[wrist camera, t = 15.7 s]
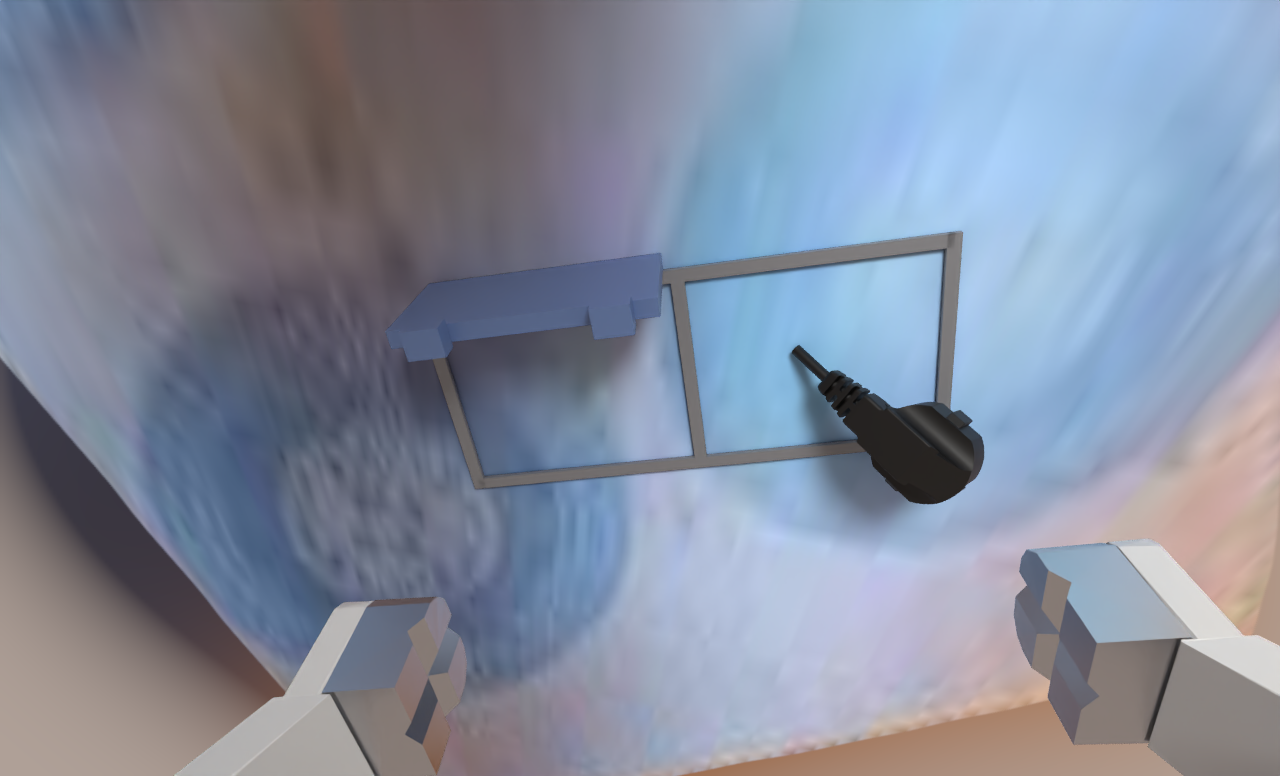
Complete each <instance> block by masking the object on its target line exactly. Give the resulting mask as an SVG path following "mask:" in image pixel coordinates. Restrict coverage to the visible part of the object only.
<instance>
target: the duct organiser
mask: <svg viewBox="0 0 1280 776" xmlns="http://www.w3.org/2000/svg"><path fill="white" fill-rule="evenodd" d="M962 239H963V232H962V231H956V232H948V233H940V234H933V235H925V236H917V237H910V238H902V239H894V240H886V241H879V242H871V243H863V244H856V245H848V246H840V247H833V248H825V249H817V250H809V251H802V252H794V253H786V254H779V255H771V256H763V257H755V258H748V259H740V260H732V261H725V262H717V263H709V264H702V265H694V266H686V267H678V268H671V269H663V265H662V258H661V253H657V254H649V255H642V256H634V257H626V258H619V259H611V260H604V261H596V262H589V263H581V264H574V265H566V266H559V267H551V268H543V269H536V270H528V271H521V272H513V273H506V274H498V275H491V276H483V277H476V278H468V279H461V280H453V281H445V282H438V283H430V284H428V285H427V286H426V287H425V289H424V290H423V291H422V292H421V293H420V294H419V295H418V296H417V297H416V298H415V300H414V301H413V302H412V303H411V304H410V305H409V306H408V307H407V308H406V309H405V310H404V312H403V313H402V314H401V315H400V316H399V317H398V318H397V319H396V320H395V321H394V323H393V324H392V325H391V326H390V327H389V328H388V329H387V330H386V331H385V333H386V335H387V338H388V341H389V344H390V346H391V349H398V348H404V351H405V354H406V357H407V360H408V362H413V361H422V360H430V359H433V362H434V365H435V368H436V371H437V374H438V377H439V380H440V383H441V386H442V389H443V393H444V396H445V399H446V402H447V405H448V408H449V411H450V414H451V417H452V420H453V423H454V426H455V429H456V432H457V435H458V438H459V441H460V444H461V447H462V450H463V453H464V456H465V459H466V462H467V465H468V468H469V471H470V474H471V477H472V480H473V484H474V487H475V489H481V488H491V487H502V486H512V485H523V484H533V483H543V482H554V481H564V480H575V479H585V478H596V477H606V476H617V475H627V474H638V473H648V472H658V471H669V470H679V469H690V468H700V467H711V466H721V465H732V464H742V463H753V462H763V461H774V460H784V459H794V458H805V457H815V456H826V455H836V454H847V453H857V452H866V451H865V450H864V449H863V448H862V447H861V446H860V445H859V444H858V443H857V442H856V440H849V441H839V442H829V443H818V444H808V445H798V446H788V447H778V448H767V449H757V450H747V451H737V452H726V453H716V454H706V446H705V438H704V430H703V422H702V414H701V407H700V399H699V391H698V383H697V375H696V367H695V359H694V352H693V344H692V336H691V328H690V320H689V312H688V304H687V297H686V289H685V282H686V281H694V280H702V279H710V278H718V277H726V276H733V275H741V274H749V273H757V272H765V271H773V270H781V269H788V268H796V267H804V266H812V265H820V264H828V263H836V262H843V261H851V260H859V259H867V258H875V257H883V256H891V255H898V254H906V253H914V252H922V251H930V250H938V249H945V258H944V274H943V291H942V307H941V323H940V340H939V356H938V372H937V389H936V402H938V403H943V404H944V405H945V406H947V407H948V408H949V409H950V403H951V390H952V376H953V362H954V349H955V335H956V321H957V308H958V294H959V280H960V267H961V253H962ZM670 283H671V289H672V296H673V303H674V311H675V318H676V325H677V332H678V340H679V347H680V354H681V361H682V369H683V376H684V383H685V391H686V398H687V405H688V412H689V420H690V427H691V434H692V441H693V449H694V456H685V457H675V458H665V459H655V460H645V461H634V462H624V463H614V464H604V465H593V466H583V467H573V468H563V469H552V470H542V471H532V472H522V473H511V474H501V475H491V476H484V473H483V470H482V467H481V464H480V461H479V458H478V454H477V451H476V448H475V445H474V442H473V439H472V436H471V432H470V429H469V426H468V423H467V420H466V417H465V414H464V410H463V407H462V404H461V401H460V398H459V395H458V392H457V388H456V385H455V382H454V379H453V376H452V373H451V370H450V366H449V363H448V360H447V356H448V354H449V353H450V351H451V350H452V348H453V344H452V342H455V341H463V340H471V339H480V338H488V337H496V336H504V335H512V334H521V333H529V332H537V331H545V330H553V329H562V328H570V327H578V326H586V325H591V327H592V332H593V337H594V340H598V339H606V338H615V337H623V336H631V335H635V330H636V321H635V319H644V318H652V317H660V314H661V296H662V285H663V284H670Z"/></svg>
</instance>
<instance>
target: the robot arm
mask: <svg viewBox="0 0 1280 776" xmlns="http://www.w3.org/2000/svg"><path fill="white" fill-rule="evenodd" d="M1019 572H1020V574H1021V576H1022V577H1023V579H1024V581H1025V582H1026V584H1027V586H1026V587H1025V588H1024V589H1023V590H1022V591H1021V592H1020V593H1019V594H1018V595H1017V596H1016V598H1015V609H1014V619H1015V625H1016V631H1017V636H1018V639H1019V642H1020V644H1021V647H1022V650H1023V652H1024V654H1025V656H1026V658H1027V660H1028V662H1029V664H1030V666H1031V668H1033V669H1034V670H1036V671H1037V672H1039V673H1040V674H1042V675H1043V676H1044V677H1046V678H1047V679H1049V680H1050V687H1049V692H1048V699H1049V701H1050V703H1051V704H1052V706H1053V708H1054V710H1055V712H1056V714H1057V715H1058V717H1059V719H1060V721H1061V723H1062V725H1063V726H1064V728H1065V730H1066V732H1067V734H1068V736H1069V737H1070V739H1071V741H1072V743H1073V744H1074V745H1083V744H1084V745H1085V744H1132V743H1149V744H1148V748H1150V749H1151V750H1152V751H1154V752H1155V753H1156V754H1157V755H1159V756H1160V757H1161V758H1162V759H1164V760H1165V761H1166V762H1167V763H1169V764H1170V765H1171V766H1172V767H1174V768H1175V769H1176V770H1177V771H1179V772H1180V773H1181V774H1182V775H1184V776H1280V646H1278V645H1276V644H1274V643H1272V642H1270V641H1268V640H1266V639H1264V638H1262V637H1260V636H1258V635H1256V636H1255V635H1254V636H1244V635H1243V634H1242V633H1241V632H1240V631H1239V630H1238V629H1237V627H1236V626H1235V625H1234V624H1233V623H1232V622H1231V621H1230V620H1229V619H1228V618H1227V617H1226V616H1225V614H1224V613H1223V612H1222V611H1221V610H1220V609H1219V608H1218V607H1217V606H1216V605H1215V604H1214V602H1213V601H1212V600H1211V599H1210V598H1209V597H1208V596H1207V595H1206V594H1205V593H1204V592H1203V591H1202V589H1201V588H1200V587H1199V586H1198V585H1197V584H1196V583H1195V582H1194V581H1193V580H1192V579H1191V578H1190V576H1189V575H1188V574H1187V573H1186V572H1185V571H1184V570H1183V569H1182V568H1181V567H1180V566H1179V564H1178V563H1177V562H1176V561H1175V560H1174V559H1173V558H1172V557H1171V556H1170V555H1169V554H1168V553H1167V551H1166V550H1165V549H1164V548H1163V547H1162V546H1161V545H1160V544H1159V543H1157V542H1155V541H1153V540H1151V539H1138V540H1127V541H1116V542H1108V543H1106V544H1105V543H1096V544H1085V545H1074V546H1062V547H1051V548H1040V549H1028V550H1026V551H1025V553H1024V555H1023V556H1022V558H1021V564H1020V570H1019ZM451 615H452V614H451V612H450V610H449V608H448V606H447V603H446V601H445V599H443V598H440V597H424V598H405V599H386V600H375V601H363V602H344V603H342V604H341V605H339V606H338V607H337V608H335V609H334V611H333V612H332V614H331V616H330V617H329V619H328V621H327V622H326V624H325V626H324V628H323V629H322V631H321V633H320V634H319V636H318V638H317V640H316V641H315V643H314V645H313V646H312V648H311V650H310V652H309V653H308V655H307V657H306V659H305V660H304V662H303V664H302V665H301V667H300V669H299V671H298V672H297V674H296V676H295V677H294V679H293V681H292V683H291V684H290V686H289V688H288V689H287V691H286V693H285V695H284V696H283V697H274V698H272V699H271V700H270V701H268V702H267V703H266V704H265V705H263V706H262V707H261V708H259V709H258V710H257V711H256V712H254V713H253V714H252V715H250V716H249V717H248V718H247V719H245V720H244V721H243V722H241V723H240V724H239V725H238V726H236V727H235V728H234V729H233V730H231V731H230V732H229V733H227V734H226V735H225V736H224V737H222V738H221V739H220V740H219V741H217V742H216V743H215V744H213V745H212V746H211V747H209V748H208V749H207V750H206V751H204V752H203V753H202V754H201V755H199V756H198V757H197V758H195V759H194V760H193V761H192V762H190V763H189V764H188V765H186V766H185V767H184V768H183V769H181V770H180V771H179V772H178V773H176V774H175V775H174V776H432V775H437V773H438V769H439V766H440V763H441V760H442V757H443V754H444V751H445V748H446V745H447V741H448V738H449V735H450V732H451V729H450V727H449V725H448V722H447V720H446V718H445V717H446V716H447V715H448V714H449V713H450V712H451V711H452V710H453V709H454V708H455V707H456V706H457V705H458V704H459V703H460V700H461V697H462V693H463V690H464V687H465V681H466V668H467V661H466V654H465V648H464V645H463V643H462V640H461V637H460V636H459V635H458V634H456V633H455V632H453V631H452V630H451V629H449V628H448V627H447V626H448V623H449V621H450V618H451Z"/></svg>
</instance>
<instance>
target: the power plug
mask: <svg viewBox="0 0 1280 776" xmlns="http://www.w3.org/2000/svg"><path fill="white" fill-rule="evenodd" d="M792 354H793V355H794V356H795V357H796V358H797V359H799V360H800V361H801V362H802V363H803V364H804V365H805V366H806V367H807V368H808V369H809V370H810V371H811V372H812V373H814V374H815V375H816V376H817V377H818V378H819V379H820V380H821V381H822V382H821V383H820V384H819V386H818V389H819V391H820V392H821V393H822V395H825V396H826V400H827V401H828V402H834V403H833V404H832V405H831V407H832V408H833V409H834V410H837V411H838V412H837V415H838V416H839V417H844V416H846V417H845V418H844V419H843V422H844V424H845V425H846V426H847V427H848V428H849V429H850V430H851V431H852V432H854V433H855V434H856V435H857V437H858V439H857V440H856V442H857V443H858V444H859V445H860V446H861V447H862V448H863V449H864V450H865V451H866V452H867V453H868V454H869V455H870V456H871V460H872V464H873V467H874V468H875V469H876V470H877V471H878V472H879V473H880V474H881V475H882V476H883V477H885V478H886V480H885V481H886V482H887V483H888V484H889V485H890V486H891V487H892V488H893V489H894V490H895V491H899V492H900V493H901V494H902V495H903V496H904V497H905V498H906V499H907V500H908V501H910V502H914V503H919V504H937V503H940V502H943V501H946V500H948V499H950V498H951V497H953V496H955V495H956V494H958V493H959V492H960V491H962V490H963V489H965V486H966V485H967V484H968V483H970V482H971V481H973V480H974V479H975V478H976V477H977V475H978V474H979V472H980V470H981V467H982V464H983V460H984V445H983V440H982V437H981V436H980V435H979V434H978V433H977V432H976V431H975V430H973V429H972V428H971V427H970V426H969V424H970V423H971V422H972V420H971V419H970V418H969V417H968V416H967V415H965V414H964V413H963V412H962V411H961V410H959V411H956V412H952V411H951V410H950V409H949V408H948V407H947V406H945V405H944V404H943V403H938V402H924V403H919V404H915V405H910V406H906V407H902V408H898V409H897V408H893V407H891V406H890V405H889V404H888V403H886V402H885V401H884V400H883V399H882V398H880V397H879V396H877V395H876V394H874V393H873V394H868V393H869V392H870V390H868V389H866V388H862V385H860V384H859V383H852V382H853V381H854V380H853V379H851V378H848V377H846V375H845V374H843V373H842V372H840V371H838V370H836V371H831V372H828V371H827V370H826V369H825V368H824V367H823V366H822V365H820V364H819V363H818V362H817V361H816V360H815V359H814V358H813V357H812V356H811V355H810V354H808V353H807V352H806V351H805V350H804V349H803V348H802V347H801V346H800V345H798V346H797V347H795V348H794V350H793V351H792Z"/></svg>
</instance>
